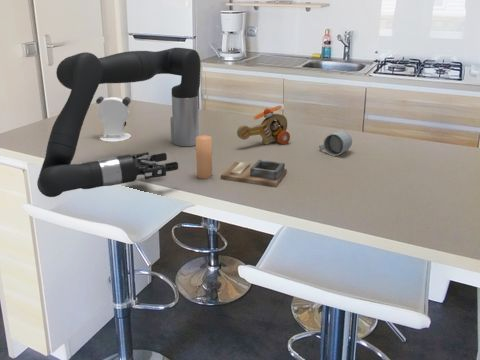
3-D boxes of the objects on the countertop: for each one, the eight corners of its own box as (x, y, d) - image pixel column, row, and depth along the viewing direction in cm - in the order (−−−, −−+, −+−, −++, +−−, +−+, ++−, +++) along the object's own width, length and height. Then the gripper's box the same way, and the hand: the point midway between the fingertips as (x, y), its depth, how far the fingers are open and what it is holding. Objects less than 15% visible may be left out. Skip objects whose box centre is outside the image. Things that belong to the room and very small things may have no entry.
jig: (220, 178, 144) (220, 167, 143) (234, 165, 155) (234, 154, 153) (275, 187, 139) (276, 175, 138) (286, 172, 149) (287, 161, 148)
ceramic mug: (352, 151, 169) (354, 130, 166) (342, 158, 162) (344, 136, 160) (325, 146, 174) (326, 125, 172) (314, 152, 168) (315, 131, 165)
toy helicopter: (292, 143, 177) (294, 106, 172) (244, 152, 166) (245, 113, 161) (278, 137, 183) (280, 101, 178) (232, 146, 173) (232, 108, 168)
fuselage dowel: (194, 177, 145) (193, 138, 141) (200, 172, 149) (199, 134, 145) (208, 179, 144) (207, 140, 139) (214, 174, 148) (214, 136, 143)
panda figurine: (134, 133, 186) (132, 94, 181) (129, 142, 176) (126, 101, 170) (103, 133, 186) (99, 94, 180) (96, 142, 175) (91, 101, 170)
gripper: (123, 165, 125) (181, 155, 132) (107, 150, 136) (161, 141, 143) (125, 192, 127) (182, 181, 135) (109, 174, 139) (163, 165, 146)
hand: (171, 160), depth 139 cm, fingers open, 8 cm apart
